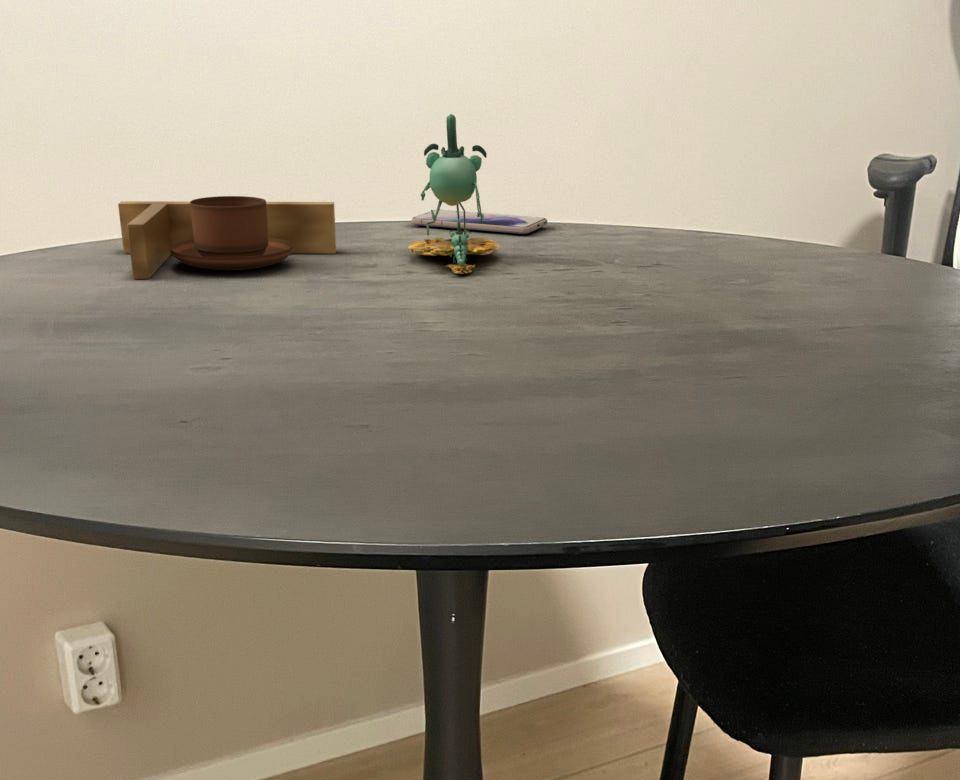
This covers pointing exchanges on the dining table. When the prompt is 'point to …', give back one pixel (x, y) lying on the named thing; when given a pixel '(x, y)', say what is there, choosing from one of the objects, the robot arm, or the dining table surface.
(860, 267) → the dining table surface
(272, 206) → the corner stop
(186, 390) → the dining table surface
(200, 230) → the cup and saucer
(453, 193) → the green cartoon figurine
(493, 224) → the smartphone
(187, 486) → the dining table surface
